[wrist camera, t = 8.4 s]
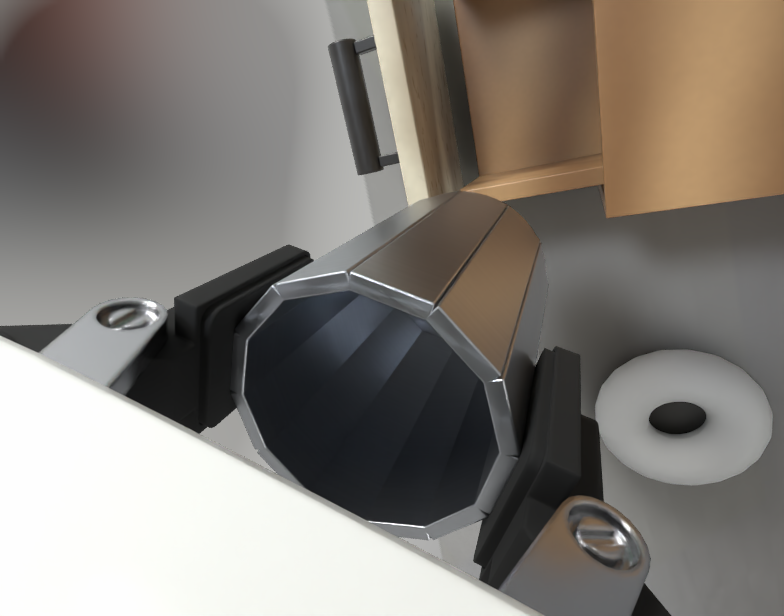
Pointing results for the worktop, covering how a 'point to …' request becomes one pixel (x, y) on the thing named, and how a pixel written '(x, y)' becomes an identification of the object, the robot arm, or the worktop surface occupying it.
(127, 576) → the robot arm
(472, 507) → the measuring cup
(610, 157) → the cabinet
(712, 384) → the donut
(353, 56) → the drawer
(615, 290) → the worktop surface
